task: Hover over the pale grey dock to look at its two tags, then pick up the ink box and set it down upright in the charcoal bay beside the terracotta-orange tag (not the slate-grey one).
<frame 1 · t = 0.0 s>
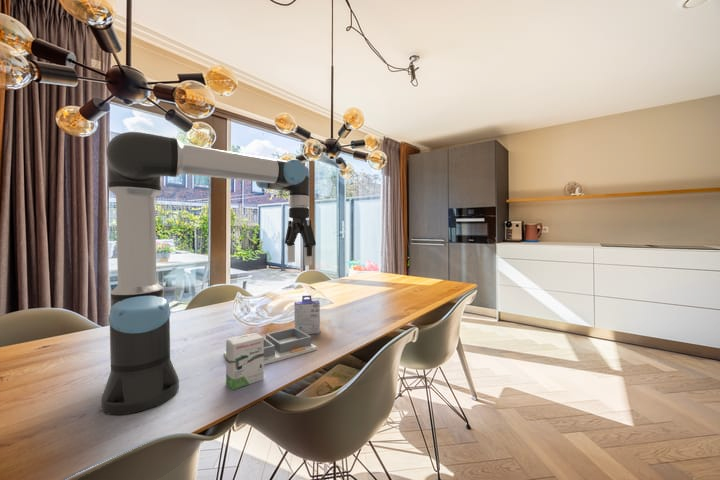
hand: (299, 263, 113), 28 cm above the table, fingers open, 13 cm apart
dock: (271, 352, 99), on the table
ink box: (245, 381, 80), on the table
ink cartridge box: (307, 332, 119), on the table
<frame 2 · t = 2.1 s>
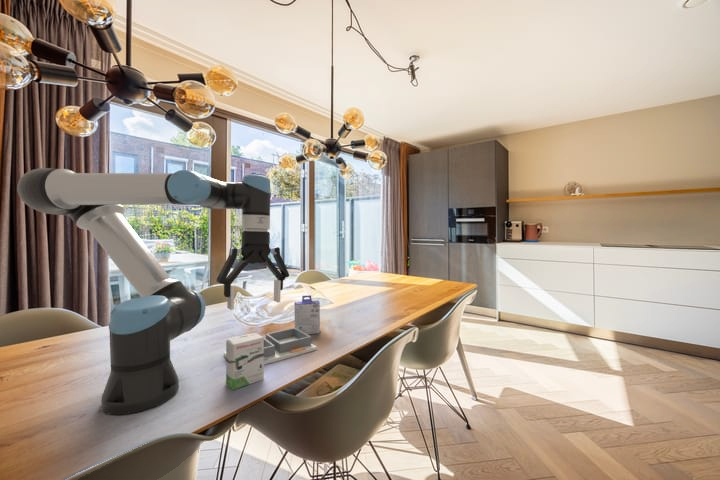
hand: (255, 305, 85), 19 cm above the table, fingers open, 13 cm apart
nothing on the table moved.
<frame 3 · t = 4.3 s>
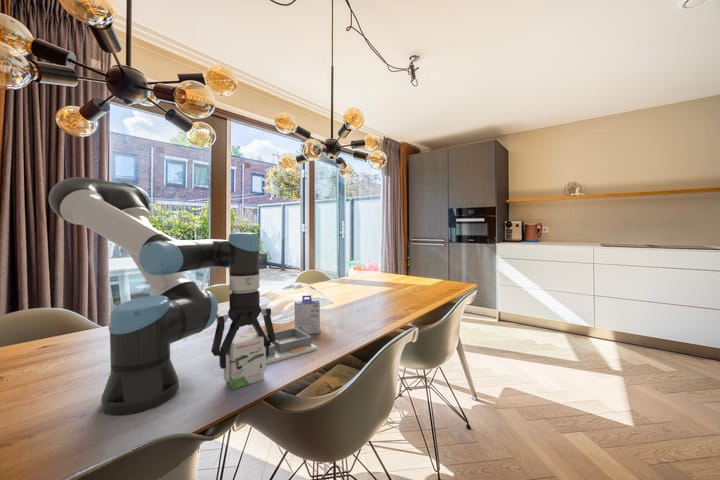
hand: (245, 373, 80), 2 cm above the table, fingers closed on ink box, 9 cm apart
ink box: (245, 381, 80), on the table, touching gripper
everything else where it was.
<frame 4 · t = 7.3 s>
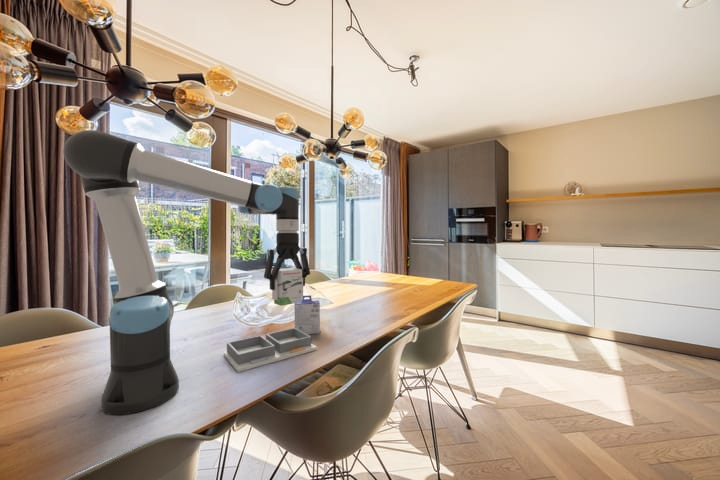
hand: (288, 297, 103), 17 cm above the table, fingers closed on ink box, 9 cm apart
ink box: (288, 303, 103), point 15 cm above the table, touching gripper
everything else where it was.
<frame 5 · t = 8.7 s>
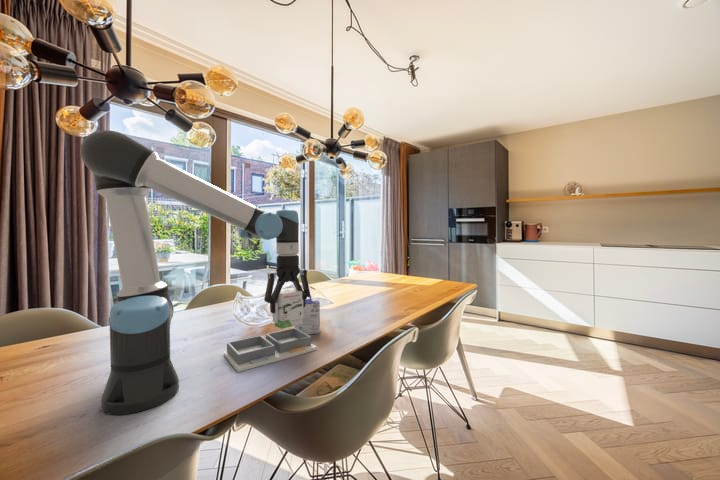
hand: (288, 319, 104), 10 cm above the table, fingers closed on ink box, 9 cm apart
ink box: (288, 325, 104), point 7 cm above the table, touching gripper
everything else where it was.
when the fingers open (4 cm above the table, at t = 10.1 s): ink box drops 1 cm, resting on dock.
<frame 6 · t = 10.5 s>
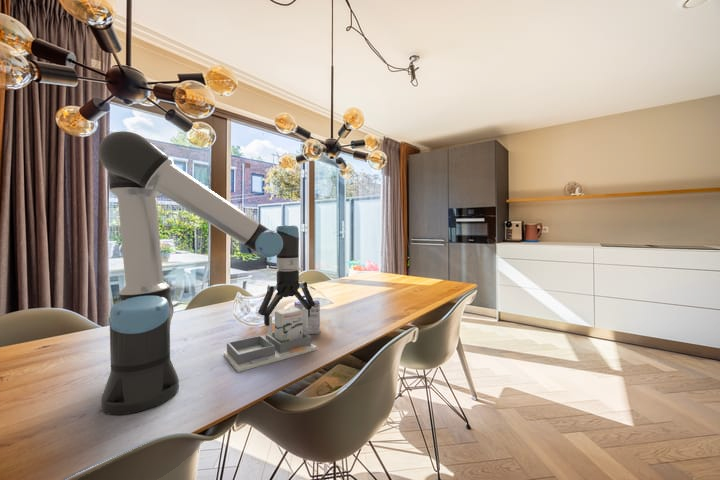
hand: (288, 330, 104), 6 cm above the table, fingers open, 13 cm apart
ink box: (288, 344, 104), point 1 cm above the table, touching dock
everything else where it was.
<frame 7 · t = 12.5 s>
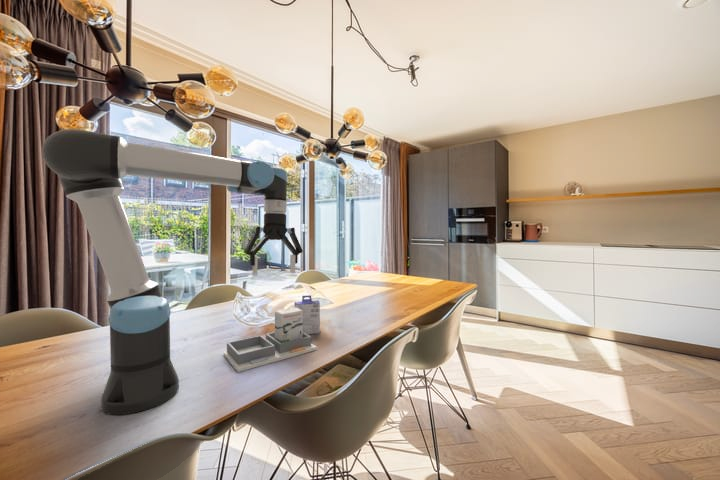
hand: (274, 274, 104), 25 cm above the table, fingers open, 13 cm apart
nothing on the table moved.
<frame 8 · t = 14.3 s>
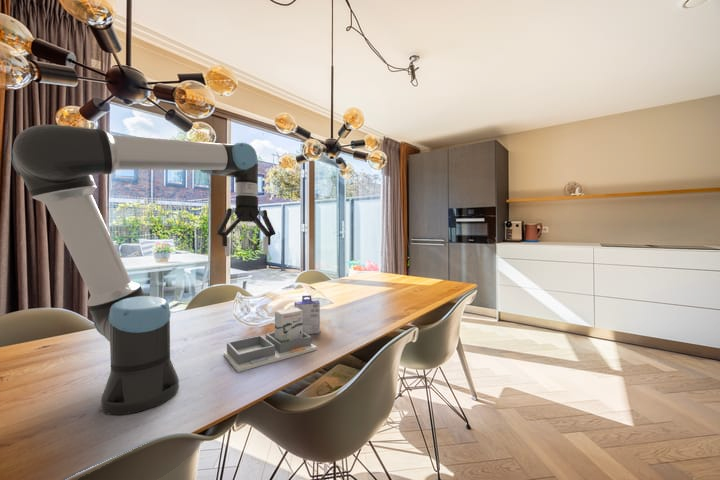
hand: (247, 255, 107), 32 cm above the table, fingers open, 13 cm apart
nothing on the table moved.
at the end: ink box 0.2 cm from the target spot on the dock, point 0.8 cm above the dock's base; ink box tilted 0°; the gripper is holding nothing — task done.
